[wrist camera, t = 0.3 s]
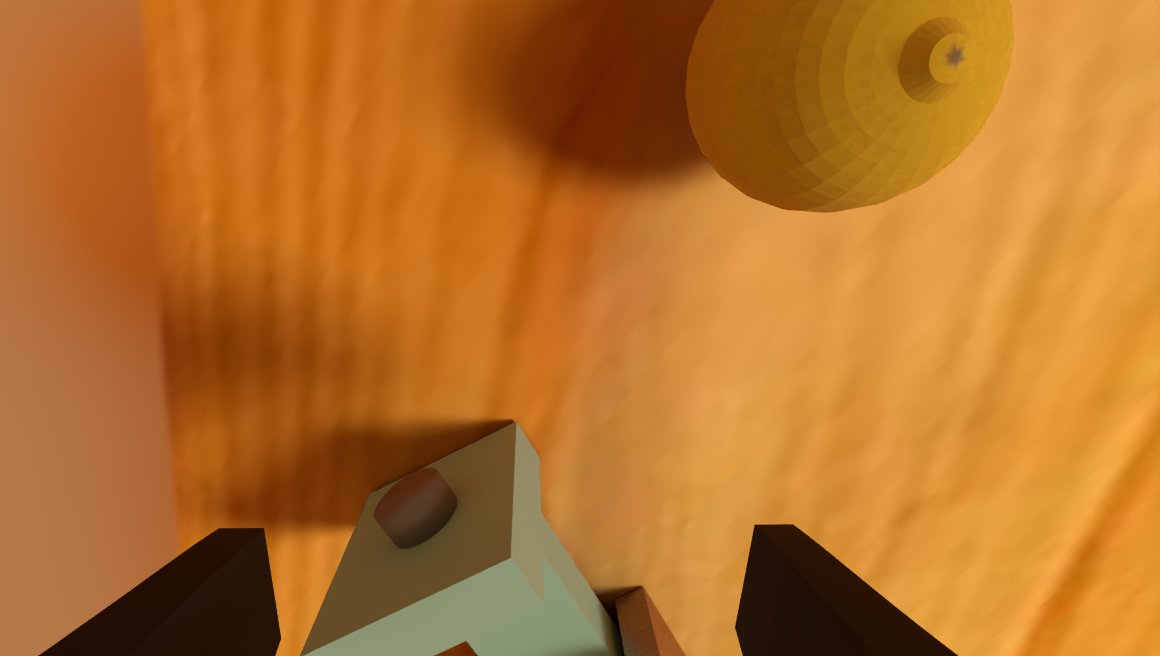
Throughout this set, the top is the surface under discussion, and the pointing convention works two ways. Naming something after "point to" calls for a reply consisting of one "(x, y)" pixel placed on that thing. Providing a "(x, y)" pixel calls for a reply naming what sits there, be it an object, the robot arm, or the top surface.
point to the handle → (462, 567)
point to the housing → (644, 627)
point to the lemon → (843, 94)
